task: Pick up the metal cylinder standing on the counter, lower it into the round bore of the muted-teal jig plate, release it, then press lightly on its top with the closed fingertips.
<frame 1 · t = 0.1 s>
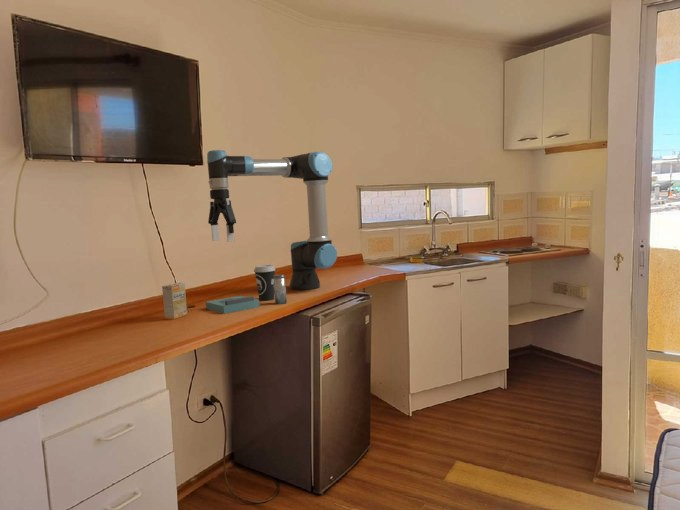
hand: (223, 241, 214), 28 cm above the table, fingers open, 13 cm apart
supplement box: (176, 317, 204), on the table
metal cylinder: (281, 303, 221), on the table
jig: (232, 307, 216), on the table
coffee cup: (266, 299, 231), on the table
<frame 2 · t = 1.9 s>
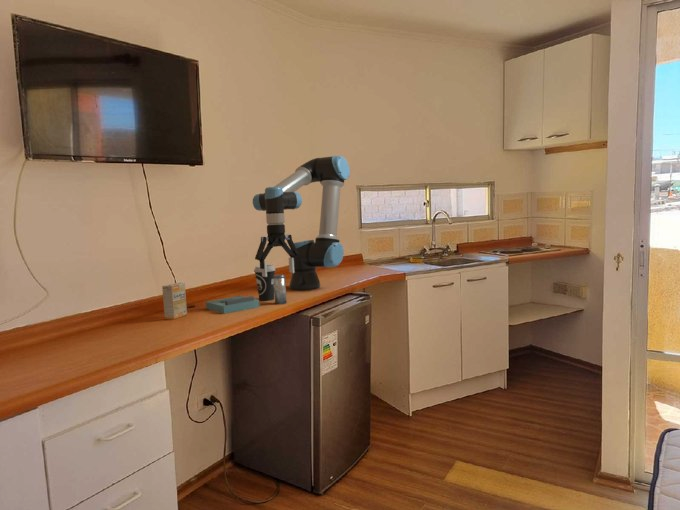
hand: (278, 274, 219), 12 cm above the table, fingers open, 13 cm apart
nothing on the table moved.
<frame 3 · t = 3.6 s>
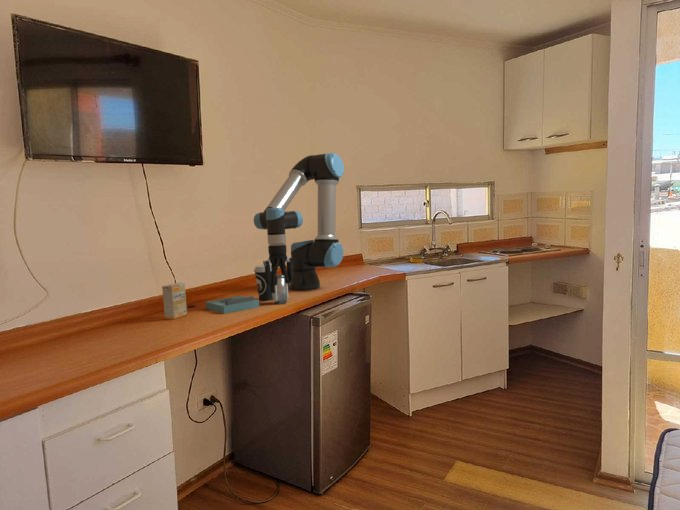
hand: (280, 299, 221), 2 cm above the table, fingers closed on metal cylinder, 5 cm apart
metal cylinder: (281, 303, 221), on the table, touching gripper
everything else where it was.
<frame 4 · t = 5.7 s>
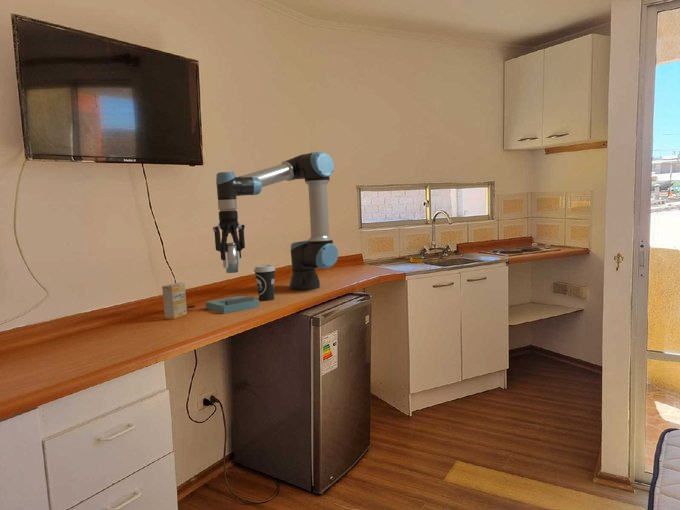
hand: (231, 266, 215), 17 cm above the table, fingers closed on metal cylinder, 5 cm apart
metal cylinder: (232, 272, 215), point 15 cm above the table, touching gripper
everything else where it was.
when the fingers open (4 cm above the table, at t = 7.8 s): metal cylinder drops 2 cm, resting in jig.
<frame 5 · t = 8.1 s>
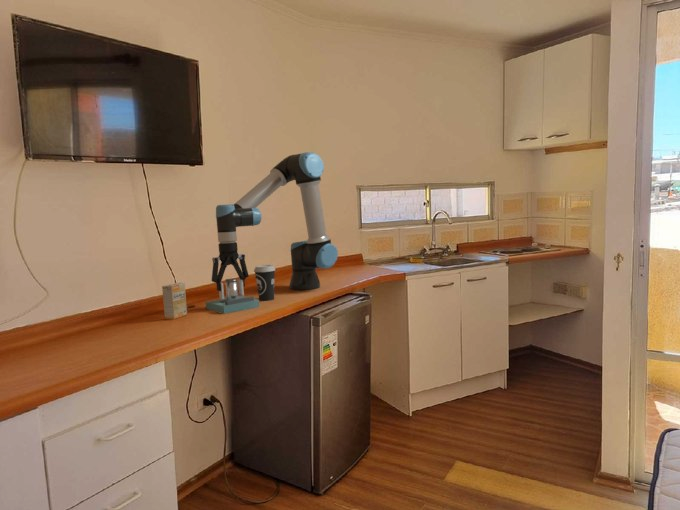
hand: (231, 296, 216), 5 cm above the table, fingers open, 8 cm apart
metal cylinder: (232, 307, 216), resting in jig
everything else where it was.
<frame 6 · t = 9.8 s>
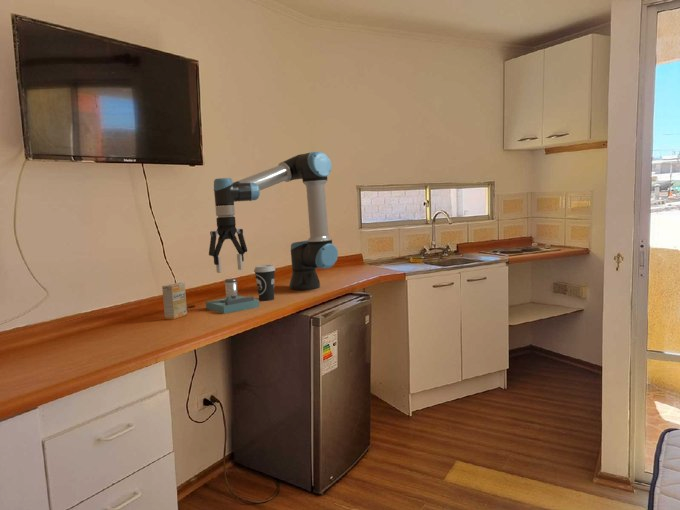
hand: (229, 271, 215), 15 cm above the table, fingers open, 9 cm apart
nothing on the table moved.
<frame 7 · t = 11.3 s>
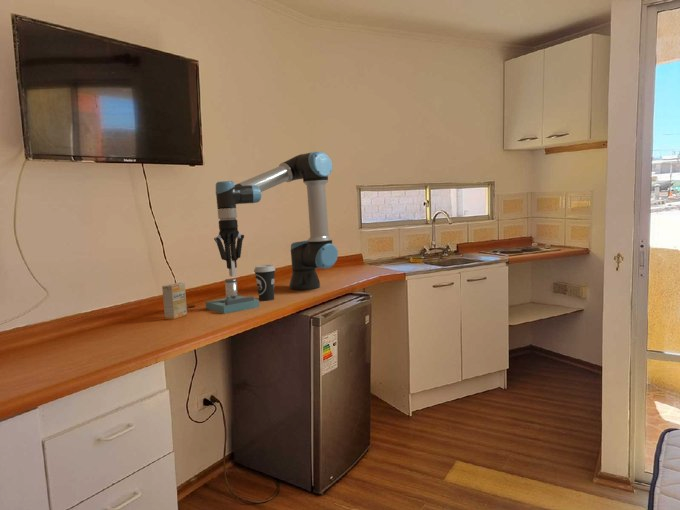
hand: (232, 276, 216), 13 cm above the table, fingers closed
nothing on the table moved.
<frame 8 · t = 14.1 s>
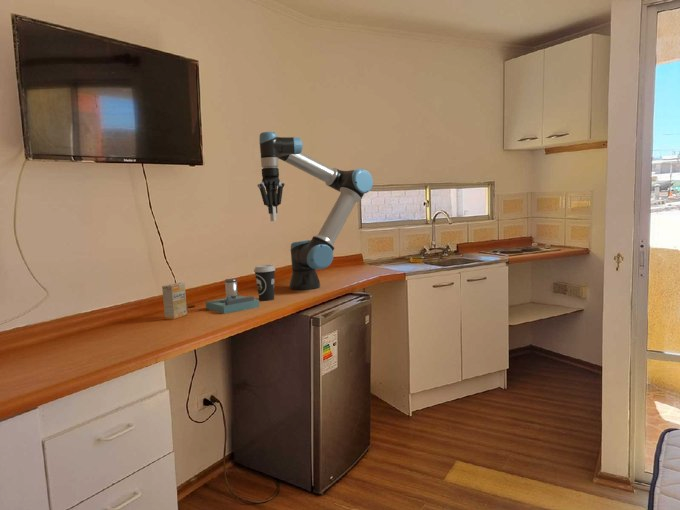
hand: (273, 221, 233), 34 cm above the table, fingers closed
nothing on the table moved.
at the end: metal cylinder 0.1 cm off-centre in the jig, point 0.0 cm above the jig's base; metal cylinder tilted 0°; the gripper is holding nothing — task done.
